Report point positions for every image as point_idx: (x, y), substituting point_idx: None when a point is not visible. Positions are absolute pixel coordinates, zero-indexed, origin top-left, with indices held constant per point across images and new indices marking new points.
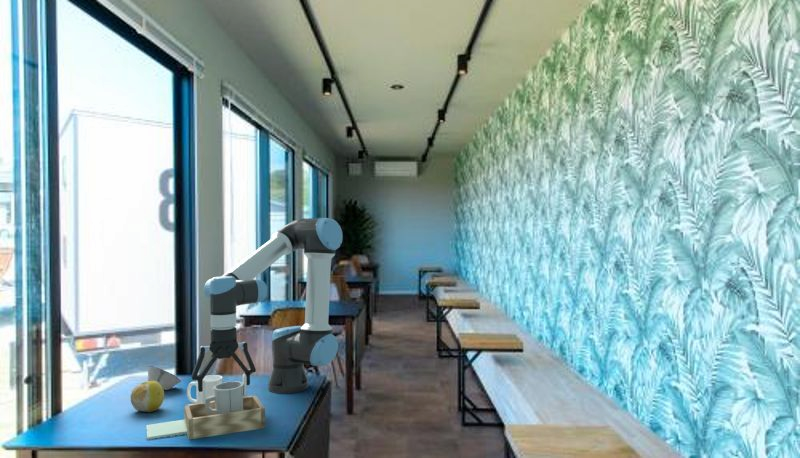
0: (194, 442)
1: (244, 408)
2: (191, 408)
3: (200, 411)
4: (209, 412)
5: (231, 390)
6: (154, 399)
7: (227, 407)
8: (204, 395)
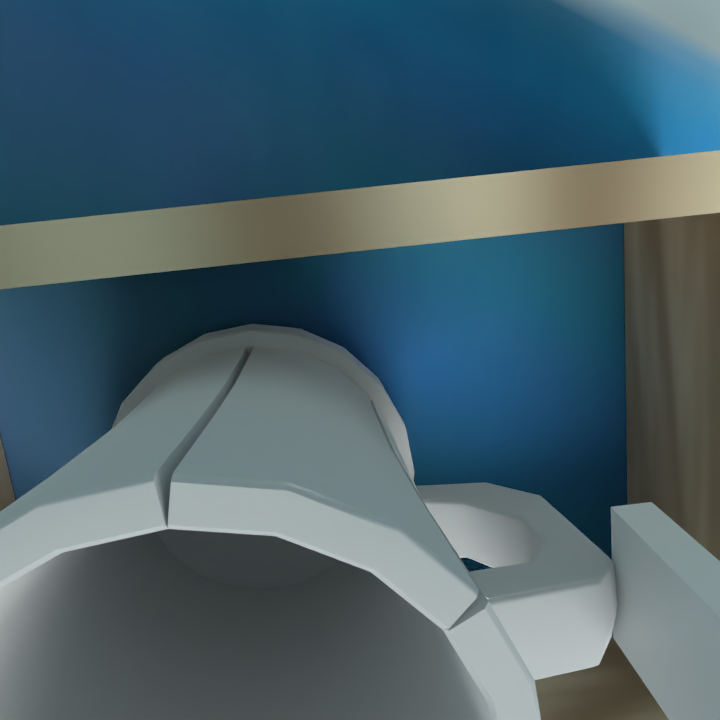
0: (613, 105)
1: None
2: None
3: (569, 678)
4: (500, 487)
5: (126, 475)
6: None
7: (271, 391)
8: (695, 572)
